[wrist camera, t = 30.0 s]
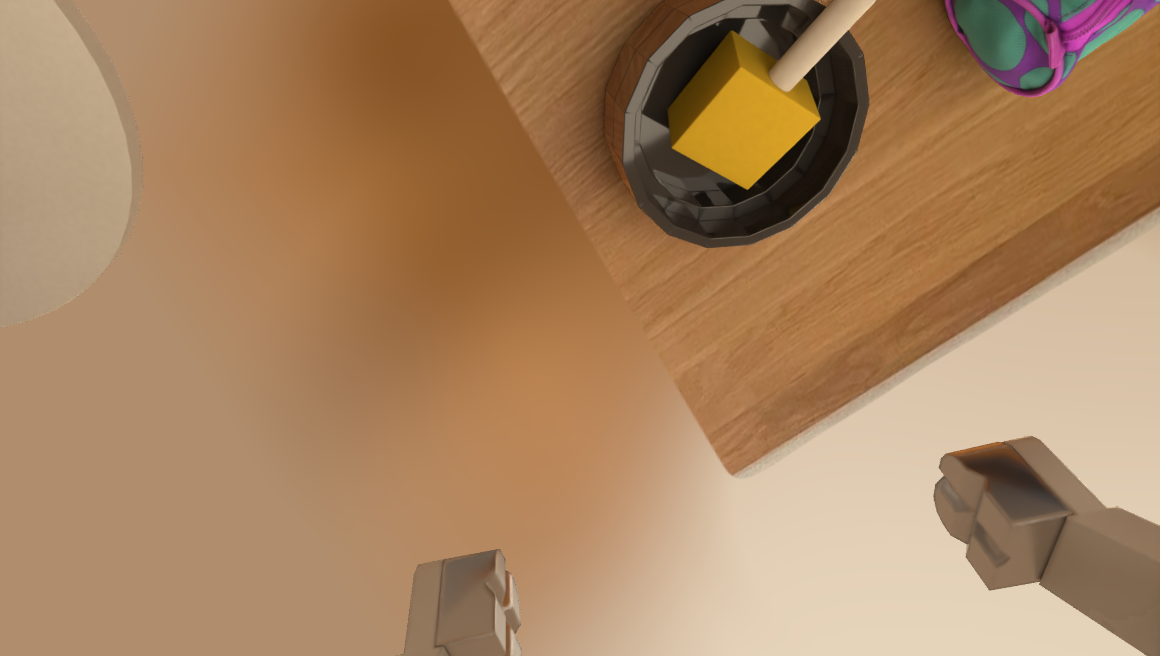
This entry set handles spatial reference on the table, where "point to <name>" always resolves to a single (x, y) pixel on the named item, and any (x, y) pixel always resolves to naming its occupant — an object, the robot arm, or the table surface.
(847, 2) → the sponge wand
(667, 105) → the bowl
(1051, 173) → the table surface
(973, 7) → the pencil case
